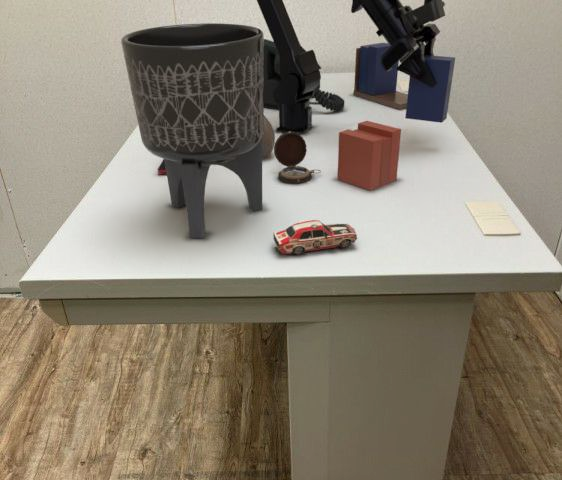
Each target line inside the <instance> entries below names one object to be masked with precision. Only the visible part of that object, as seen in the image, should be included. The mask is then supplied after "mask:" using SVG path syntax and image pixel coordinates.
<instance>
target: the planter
mask: <svg viewBox="0 0 562 480" xmlns="http://www.w3.org/2000/svg"><path fill="white" fill-rule="evenodd" d="M264 36H265V35H264V32H263V30H262V29H260V28H258V27H255V26H251V25H245V24H239V23H238V24H236V23H235V24H234V23H219V22H218V23H213V22H211V23H209V22H208V23H205V22H204V23H185V24H172V25H163V26H156V27H150V28H144V29H139V30H135V31H132V32H130V33H126V34H124V36H123V37H122V38H120V39H121V40H120V42H121V43H120V44H121V49H122V53H123V58H124V63H125V66H126V72H127V76H128V82H129V86H130V91H131V96H132V101H133V105H134V111H135V115H136V119H137V124H138V129H139V134H140V138H141V143H142V145H143V146H144V148H145V150H146V151H148V152H149V153H150V154H152V155H153V156H156V158H157V157H158V158H160V159H162V160H163V159H164V162H165V168H166V173H167V174H166V178H167V185H168V189H169V191H168V192H169V195H170V196H169V197H170V203H171V206H172V207H175V208H178V209H180V208H182V207H184V206H185V211H186V216H187V223H188V230H189V237H190V239H204V237H205V236H206V222H205V220H206V219H205V218H206V217H205V196H206V195H205V193H206V186H207V185H206V183H207V178H208V174H209V170H210V168H211V166H221V167H223V168H226V169H228V170H229V171H231V172H232V173H234V174H235V175H236V176H237V177H238V178H239V179H240V182H241V183H242V185H243V187H244V190H245V193H246V197H247V203H248V207H249V209H250V211H252V212H257V211H258V212H259V211H263V159H262V137H263V115H265V114H264V108H265V107H264V39H265V37H264Z"/></svg>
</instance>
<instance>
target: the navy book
mask: <svg viewBox="0 0 562 480" xmlns="http://www.w3.org/2000/svg"><path fill="white" fill-rule="evenodd" d="M424 58H425V60H426V62H427V64H428V66H429V68H430V70H431V72H432V74H433V76H434V78H435V80H436V82H437V84H436V85H435V86H434V87H430V86H428V85H427V84H425V83H423V82H421V81H419V80H417V79H415V78H413V77H411V76H409V79H408V90H407V94H408V98H407V107H406V108H405V119H407V120H408V119H409V120H417V121H425V122H431V123H443V122H445V121H446V120H447V118H448V111H449V104H450V98H451V91H452V83H453V76H454V70H455V62H456V57H454V56H444V55H443V56H442V55H440V56H439V55H434V56H431V55H424Z"/></svg>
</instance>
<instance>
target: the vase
mask: <svg viewBox="0 0 562 480" xmlns="http://www.w3.org/2000/svg"><path fill="white" fill-rule="evenodd" d="M275 134H276V133H275V131H274V127H273V125H272V123H271V122H270V121H269V119H268V118H267V117H266V116H265V114H264V115H263V137H262V160H265V159H267V158H268V157H270V156H271V154H272V152H274V146H275V142H276V135H275Z"/></svg>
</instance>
